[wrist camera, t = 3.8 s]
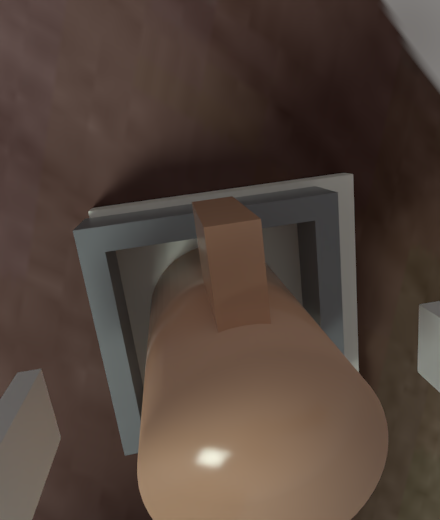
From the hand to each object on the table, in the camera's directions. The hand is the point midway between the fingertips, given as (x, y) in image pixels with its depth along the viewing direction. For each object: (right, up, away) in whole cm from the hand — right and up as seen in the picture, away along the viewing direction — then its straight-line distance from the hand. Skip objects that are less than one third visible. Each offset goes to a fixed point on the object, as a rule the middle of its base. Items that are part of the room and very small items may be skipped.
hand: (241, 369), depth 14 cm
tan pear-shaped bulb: (-1, +3, +5) cm, 6 cm away
